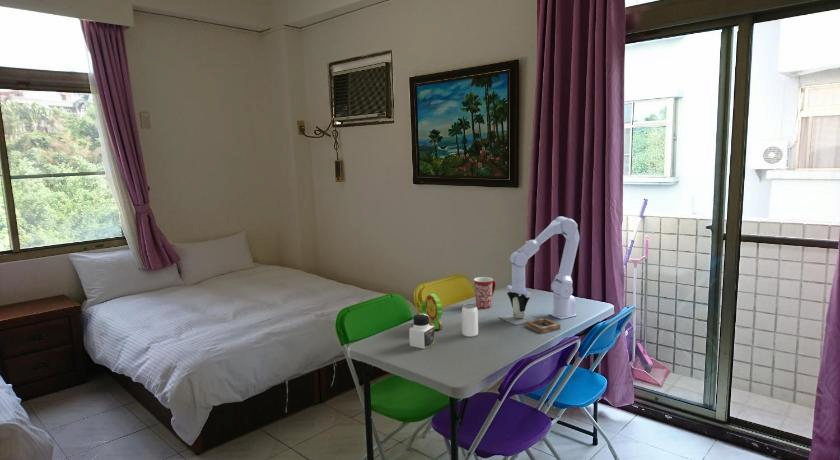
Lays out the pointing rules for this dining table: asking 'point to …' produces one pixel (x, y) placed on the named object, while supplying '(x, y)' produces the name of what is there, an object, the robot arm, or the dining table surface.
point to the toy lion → (433, 310)
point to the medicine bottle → (421, 332)
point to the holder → (550, 327)
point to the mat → (517, 319)
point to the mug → (484, 291)
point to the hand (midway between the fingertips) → (518, 309)
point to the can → (469, 320)
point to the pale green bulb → (517, 309)
